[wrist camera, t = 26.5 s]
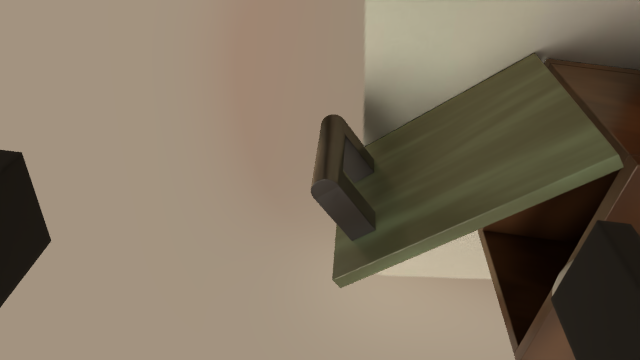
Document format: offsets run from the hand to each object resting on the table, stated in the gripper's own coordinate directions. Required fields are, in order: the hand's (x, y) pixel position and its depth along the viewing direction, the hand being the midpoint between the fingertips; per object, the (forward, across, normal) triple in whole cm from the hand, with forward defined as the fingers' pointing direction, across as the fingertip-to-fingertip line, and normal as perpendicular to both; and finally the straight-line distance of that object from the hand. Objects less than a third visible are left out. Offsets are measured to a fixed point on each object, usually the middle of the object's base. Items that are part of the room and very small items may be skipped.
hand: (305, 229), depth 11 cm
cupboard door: (+28, +7, -9) cm, 30 cm away
